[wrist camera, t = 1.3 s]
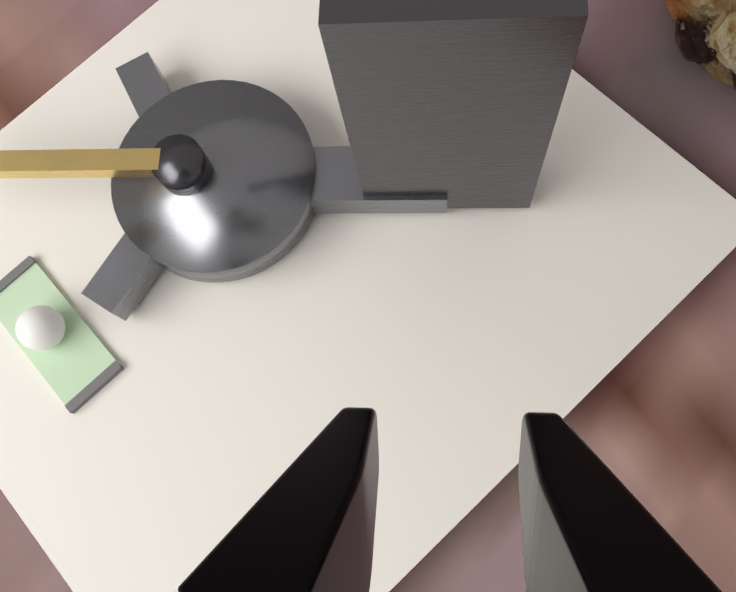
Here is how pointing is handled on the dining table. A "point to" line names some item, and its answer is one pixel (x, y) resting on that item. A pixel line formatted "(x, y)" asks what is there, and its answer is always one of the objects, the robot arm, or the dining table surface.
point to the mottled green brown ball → (707, 35)
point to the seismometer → (331, 163)
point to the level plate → (313, 317)
